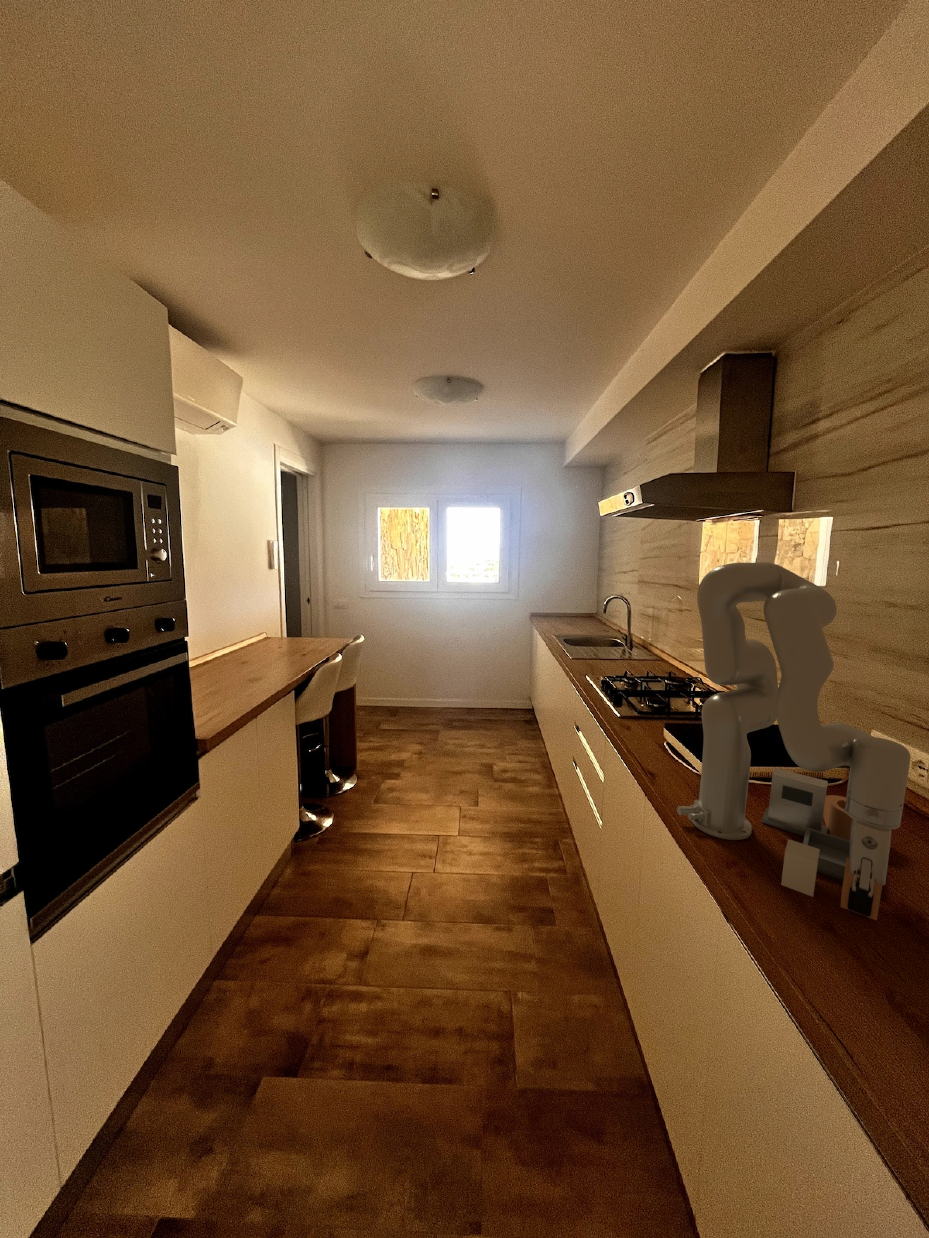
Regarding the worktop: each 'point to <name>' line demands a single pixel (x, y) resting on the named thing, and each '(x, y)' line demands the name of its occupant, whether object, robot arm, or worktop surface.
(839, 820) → the bracket
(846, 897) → the terracotta block
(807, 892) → the cream block
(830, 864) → the tray
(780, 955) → the worktop surface
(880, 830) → the robot arm
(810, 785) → the mounted unit
